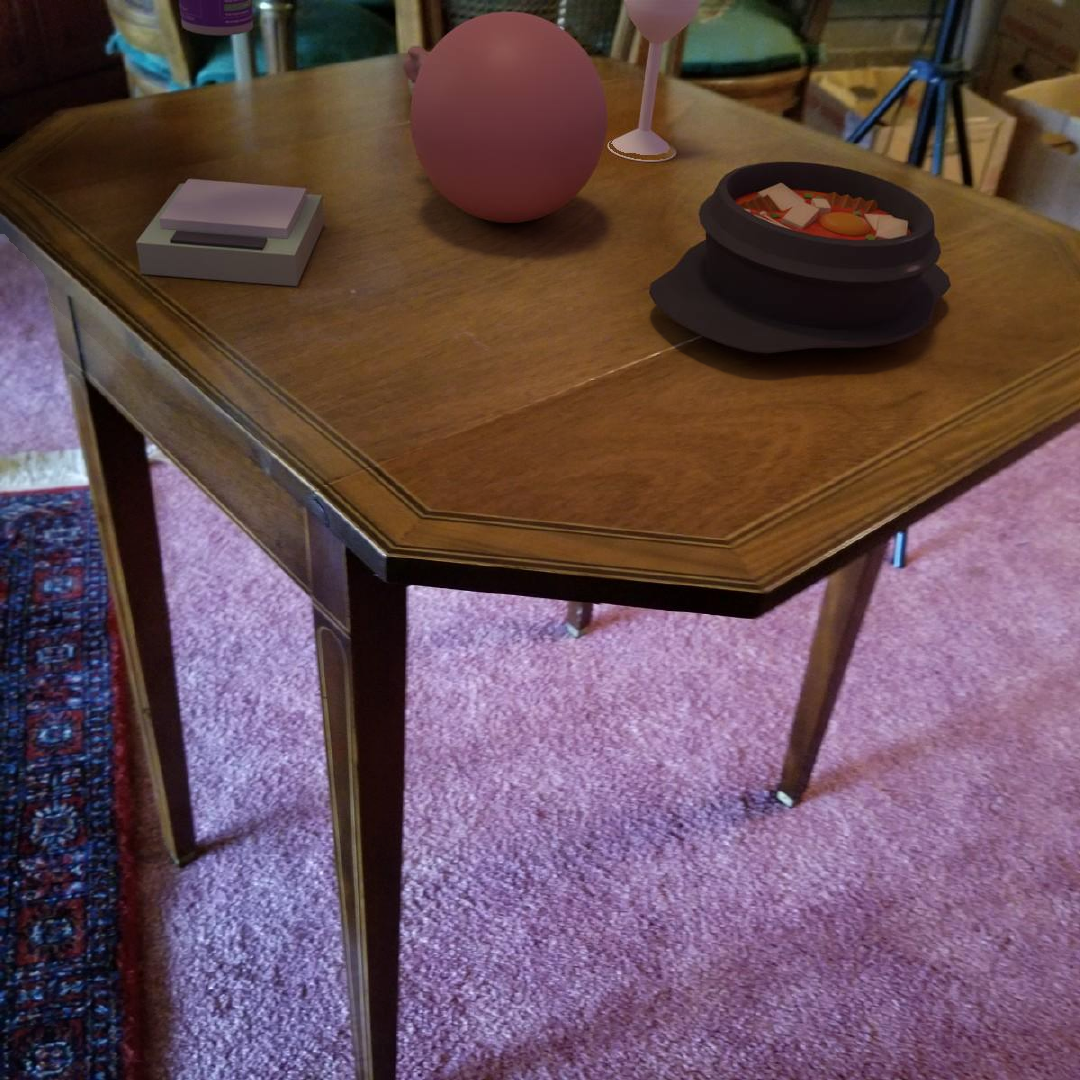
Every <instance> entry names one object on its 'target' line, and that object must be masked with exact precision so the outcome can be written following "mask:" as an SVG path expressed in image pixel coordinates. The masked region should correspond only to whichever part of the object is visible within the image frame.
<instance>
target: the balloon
mask: <svg viewBox="0 0 1080 1080" xmlns="http://www.w3.org/2000/svg"><path fill="white" fill-rule="evenodd" d="M579 43H580V42H578V41H577V40H576V39H575V38H574V37H572V36H571V35H570V34H569V33H568V32H567V31H565V30H564V29H563V28H561V27H560V26H558V25H557V24H555V23H553V22H551V21H550V20H548V19H545V18H543V17H540V16H537V15H535V14H531V13H526V12H522V11H521V12H519V11H495V12H489V13H485V14H481V15H478V16H476V17H473V18H471V19H468V20H466V21H463V22H462V23H461V24H459V25H457V26H456V27H454V28H453V29H452V30H450V31H449V32H448V33H447V34H445V35H444V36H443V37H442V38H441V39H440V40H439V41H438V42H437V43H436V45H435V46H434V47H433V48H432V49H431V51H427V50H425V49H424V48H423V47H421V46H420V45H412V46H411V47H409V48H408V50H407V53H408V55H409V56H408V57H407V58H405V60H404V62H403V66H402V67H403V71H404V73H405V75H406V77H407V78H408V80H409V79H410V80H411V81H412V82H413V83H414V84H415V85H414V89H413V94H412V96H411V100H410V110H409V121H410V122H409V124H410V132H411V139H412V143H413V146H414V150H415V154H416V156H417V158H418V161H419V163H420V165H421V167H422V169H423V171H424V173H425V175H426V176H427V178H428V179H429V181H430V182H431V183H432V185H433V186H434V187H435V188H436V190H437V192H439V193H440V194H441V195H442V196H443V197H444V198H445V199H446V200H447V201H449V202H450V203H451V204H452V205H454V206H455V207H457V208H458V209H460V210H462V211H463V212H465V213H467V214H469V215H471V216H473V217H476V218H479V219H481V220H485V221H489V222H493V223H502V224H518V223H525V222H526V223H527V222H531V221H535V220H537V219H541V218H543V217H546V216H548V215H550V214H552V213H554V212H556V211H557V210H559V209H561V208H562V207H565V205H566V204H568V203H569V202H571V201H572V200H573V199H574V198H575V197H576V196H577V195H578V194H579V193H580V192H581V191H582V190H583V188H584V187H585V186H586V185H587V183H588V182H589V180H590V179H591V177H592V176H593V174H594V172H595V170H596V168H597V166H598V164H599V162H600V160H601V157H602V155H603V154H602V153H603V151H604V147H605V143H606V138H607V131H608V104H607V99H606V94H605V90H604V86H603V82H602V79H601V77H600V75H599V72H598V70H597V69H596V66H595V64H594V62H593V61H592V60H591V57H590V56H589V54H588V53H587V52H586V50H585V49H584V48H583V47H582V46H581V44H579Z"/></svg>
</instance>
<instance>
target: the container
mask: <svg viewBox="0 0 1080 1080" xmlns="http://www.w3.org/2000/svg"><path fill="white" fill-rule="evenodd" d="M252 3H253V2H252V0H178V8H179V15H180V22H181V27H182V28H183V29H184V30H186V31H189V32H190V33H191V32H192V33H194V34H200V35H206V36H207V35H208V36H234V35H235V36H236V35H241V34H244V33H248V32H250V31H252V30H253V29H254V17H253V16H254V15H253V4H252Z"/></svg>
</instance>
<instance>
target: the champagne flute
mask: <svg viewBox="0 0 1080 1080" xmlns="http://www.w3.org/2000/svg"><path fill="white" fill-rule="evenodd" d="M623 3H624V7H625V10H626V13H627V16H628V17H629V19H630V21H631V22H632V24H633V25H634V26H635V28H636V29H637V31H638V32H639V33H640V35H641V36H642V37H643V38H644V39H645V40H647V41H648V42H649V43H648V50H647V59H646V66H645V72H644V73H645V76H644V83H643V89H642V96H641V97H642V98H641V104H640V111H639V112H640V113H639V119H638V127H637V128H635V129H633V130H631V131H629V132H627V133H625V134H623V135H620V136H619V137H616V138H614V139H612V140H613V141H612V140H610V141H609V142H608V143H607V149H608V151H610V152H611V153H612V154H614V155H615V156H619V157H621V158H624V159H627V160H631V161H637V162H649V163H657V162H664V161H668V160H671V159H673V158H674V157H676V155H677V152H676V149H675V148H674V147H673V146H671V147H672V148H673V149H674V151H675V153H674V155H672V156H671V157H669V158H666V159H660V160H641V159H634V158H630V157H626V156H623V155H620V154H618V153H616V152H614V151H613V150H612V149H610V147H609V143H610V142H611V141H612V143H611V144H613V146H614V147H615V148H616V149H617V150H619V151H621V152H624V153H636V154H640V155H659V154H662V153H668V151H669V149H670V147H669V145H670V144H669V143H668V142H667V141H666V140H664V139H663V138H661V136H659V135H658V134H657V133H655V132H654V131H653V130H652V123H653V114H654V108H655V107H654V106H655V99H656V94H657V93H656V92H657V86H658V79H659V71H660V64H661V56H662V49H663V44H664V43H666V42H669V41H670V40H672V38H675V37H676V36H677V35H678V34H679V33H680V32H682V31H683V30H684V29H685V28H686V27H688V25H689V24H690V23H691V22H692V20H693V19H694V17H695V16H696V15H697V13H698V11H699V9H700V0H623ZM668 144H669V145H668Z"/></svg>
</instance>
